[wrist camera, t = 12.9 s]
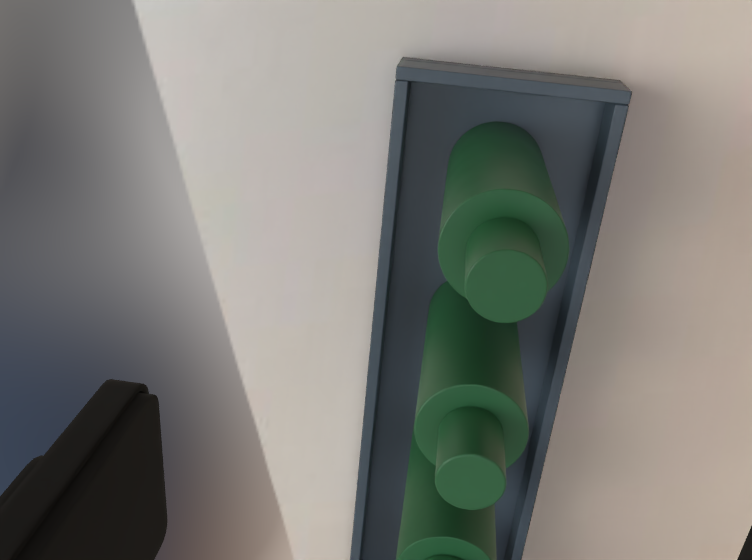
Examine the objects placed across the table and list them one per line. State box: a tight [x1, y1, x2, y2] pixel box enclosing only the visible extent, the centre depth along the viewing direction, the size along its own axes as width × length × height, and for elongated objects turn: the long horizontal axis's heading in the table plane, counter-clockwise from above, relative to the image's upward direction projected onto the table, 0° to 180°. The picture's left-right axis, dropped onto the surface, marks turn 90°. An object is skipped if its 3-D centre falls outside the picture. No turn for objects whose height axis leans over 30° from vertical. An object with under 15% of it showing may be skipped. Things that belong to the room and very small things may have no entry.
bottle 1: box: [414, 281, 529, 510], centre depth 32 cm, size 5×5×14 cm
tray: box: [350, 57, 632, 560], centre depth 39 cm, size 34×10×3 cm, turn 175°
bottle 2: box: [396, 426, 497, 560], centre depth 35 cm, size 5×5×14 cm
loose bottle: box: [438, 121, 569, 323], centre depth 29 cm, size 5×5×14 cm
